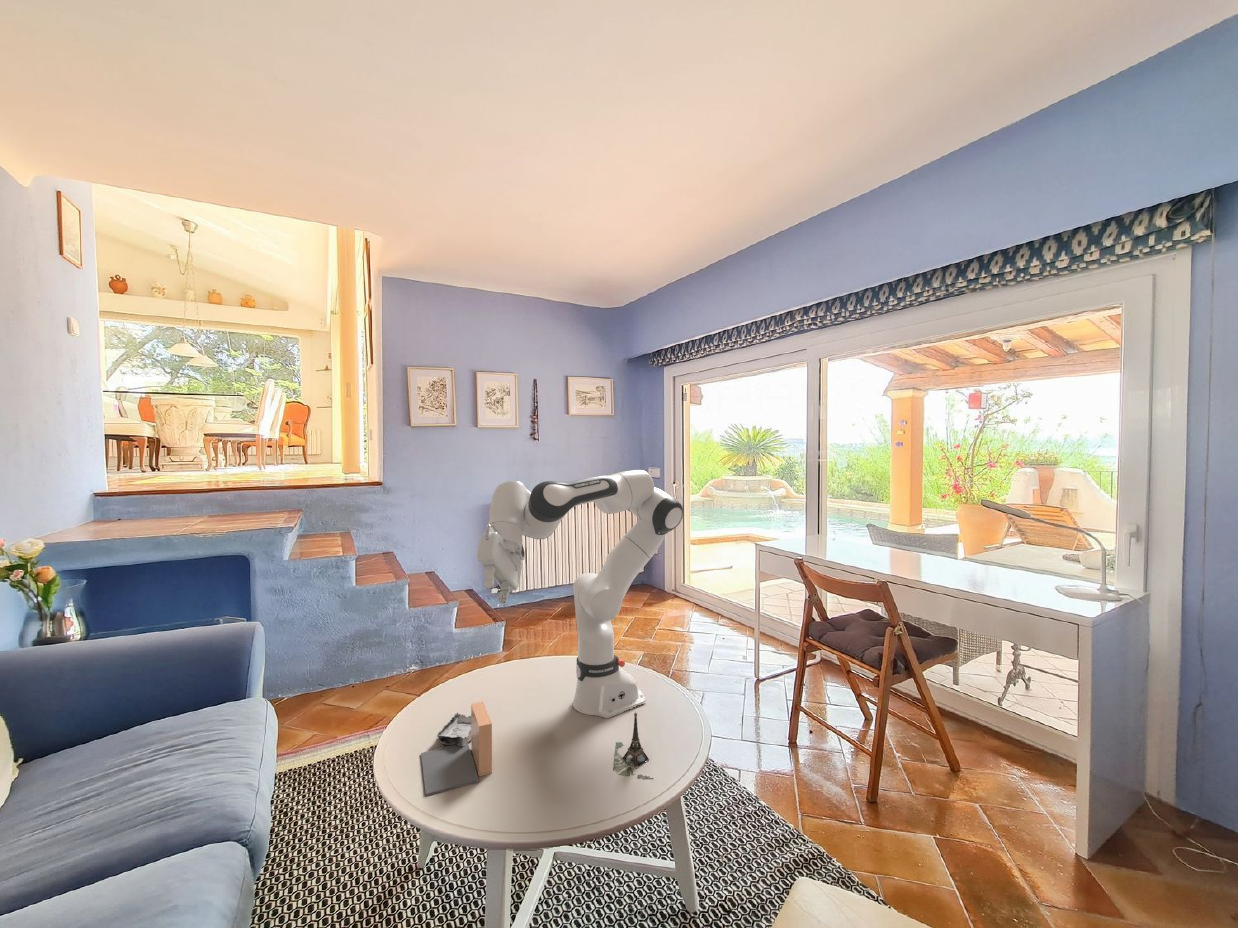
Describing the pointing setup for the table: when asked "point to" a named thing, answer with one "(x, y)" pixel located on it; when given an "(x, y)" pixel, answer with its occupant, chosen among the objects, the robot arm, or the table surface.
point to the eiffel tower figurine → (630, 756)
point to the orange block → (481, 738)
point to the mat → (448, 768)
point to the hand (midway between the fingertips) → (495, 595)
